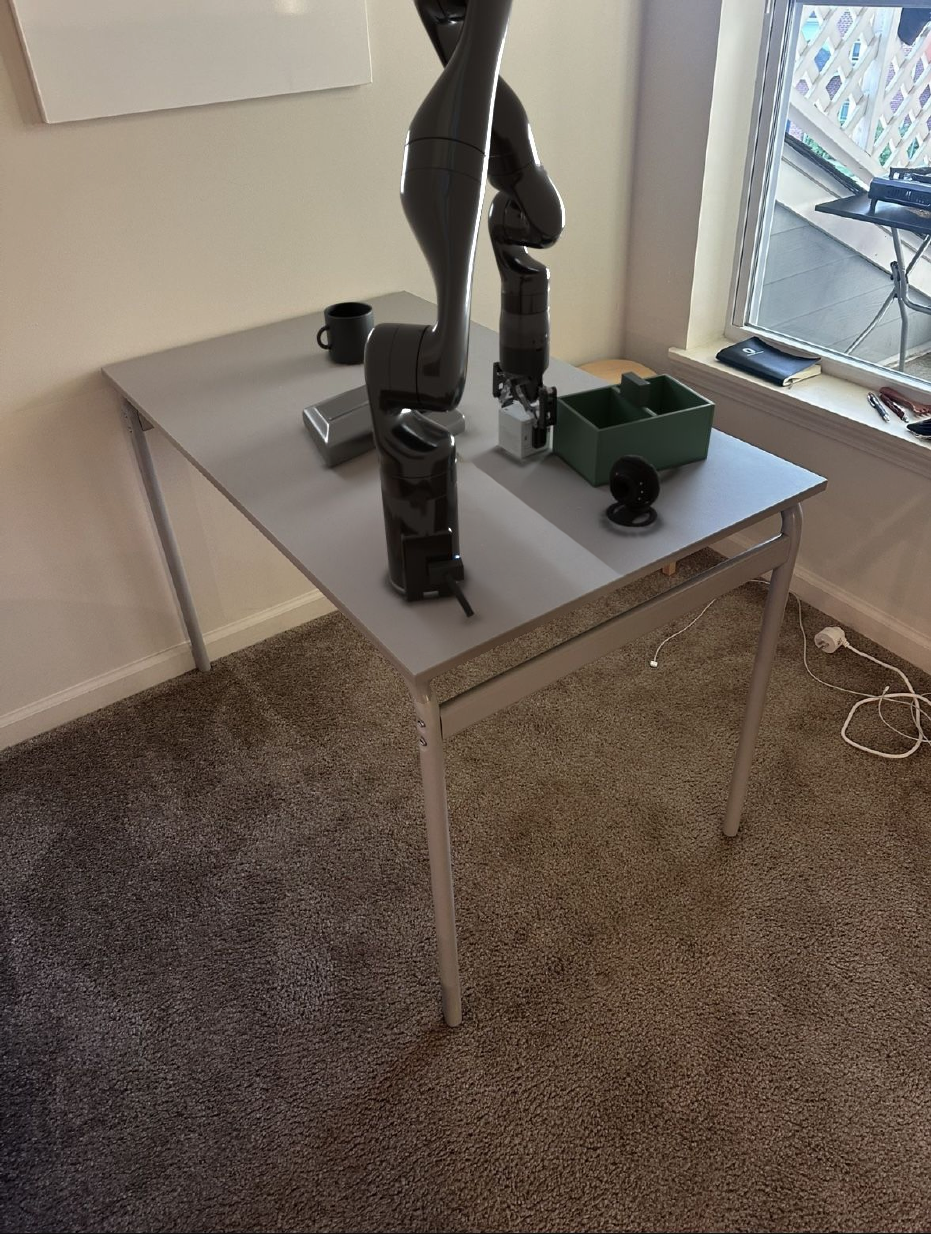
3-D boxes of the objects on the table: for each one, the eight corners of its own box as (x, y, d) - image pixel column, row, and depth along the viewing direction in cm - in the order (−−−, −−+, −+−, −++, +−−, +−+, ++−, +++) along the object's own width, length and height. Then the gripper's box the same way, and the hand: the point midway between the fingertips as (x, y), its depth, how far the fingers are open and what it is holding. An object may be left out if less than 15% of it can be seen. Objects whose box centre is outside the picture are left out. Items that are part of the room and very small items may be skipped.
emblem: (327, 364, 161) (480, 372, 156) (331, 392, 164) (480, 401, 159) (270, 434, 139) (445, 446, 134) (275, 465, 142) (446, 478, 138)
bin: (659, 425, 147) (667, 351, 140) (707, 458, 138) (718, 381, 130) (551, 451, 141) (554, 375, 133) (594, 487, 132) (599, 408, 124)
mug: (309, 356, 178) (303, 311, 173) (363, 342, 183) (358, 298, 178) (330, 371, 172) (324, 324, 166) (385, 357, 177) (381, 311, 171)
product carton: (521, 465, 140) (521, 421, 136) (497, 451, 144) (497, 408, 140) (550, 453, 143) (552, 410, 138) (526, 440, 147) (527, 398, 142)
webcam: (592, 521, 127) (596, 457, 120) (624, 501, 131) (630, 438, 125) (636, 541, 122) (643, 476, 116) (669, 520, 126) (677, 456, 120)
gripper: (477, 328, 135) (479, 426, 146) (531, 358, 126) (529, 461, 136) (518, 317, 138) (517, 414, 148) (574, 346, 129) (569, 447, 139)
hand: (523, 436), depth 142 cm, fingers open, 8 cm apart
